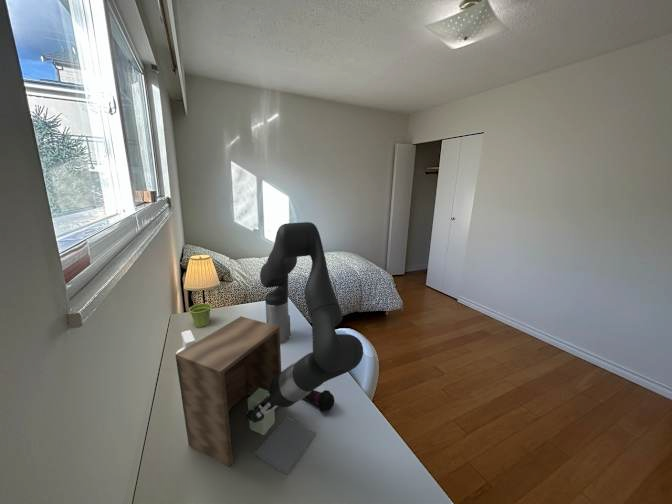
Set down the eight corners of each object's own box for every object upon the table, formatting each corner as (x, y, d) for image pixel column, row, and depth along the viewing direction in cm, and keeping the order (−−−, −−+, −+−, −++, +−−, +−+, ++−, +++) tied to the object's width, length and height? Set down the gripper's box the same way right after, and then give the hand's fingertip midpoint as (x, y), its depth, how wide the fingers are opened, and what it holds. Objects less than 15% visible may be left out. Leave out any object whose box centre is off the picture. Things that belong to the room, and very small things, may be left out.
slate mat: (286, 418, 77) (286, 417, 77) (316, 434, 72) (316, 432, 72) (255, 454, 67) (255, 452, 67) (287, 475, 62) (287, 473, 62)
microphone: (280, 397, 89) (330, 418, 78) (274, 385, 87) (325, 405, 76) (290, 383, 93) (339, 401, 82) (285, 371, 91) (334, 389, 80)
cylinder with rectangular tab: (175, 364, 100) (171, 334, 97) (202, 355, 105) (199, 327, 102) (179, 377, 93) (175, 346, 90) (208, 367, 98) (204, 337, 96)
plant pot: (207, 329, 124) (205, 312, 122) (186, 329, 124) (184, 312, 122) (216, 320, 133) (214, 303, 131) (197, 319, 133) (195, 303, 131)
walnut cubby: (188, 444, 69) (175, 354, 63) (246, 390, 88) (240, 316, 81) (230, 468, 63) (220, 371, 57) (282, 404, 82) (279, 326, 76)
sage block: (261, 415, 74) (259, 387, 72) (274, 421, 72) (273, 392, 70) (249, 428, 70) (247, 399, 68) (263, 435, 68) (261, 405, 66)
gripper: (299, 354, 70) (264, 380, 78) (263, 390, 58) (226, 418, 65) (317, 377, 69) (280, 402, 77) (285, 420, 57) (244, 444, 64)
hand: (255, 409), depth 71 cm, fingers closed on sage block, 4 cm apart
